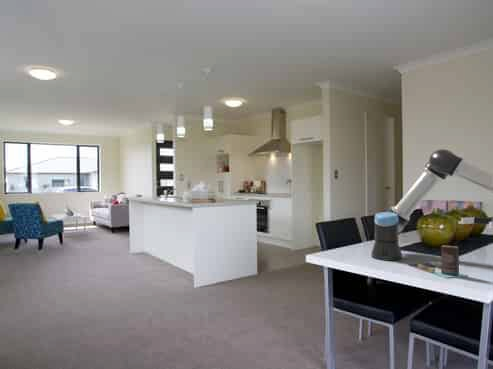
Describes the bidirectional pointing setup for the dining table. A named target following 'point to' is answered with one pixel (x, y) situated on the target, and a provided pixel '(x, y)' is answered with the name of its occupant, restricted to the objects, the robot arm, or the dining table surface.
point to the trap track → (427, 266)
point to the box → (450, 260)
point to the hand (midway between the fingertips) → (475, 222)
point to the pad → (449, 275)
